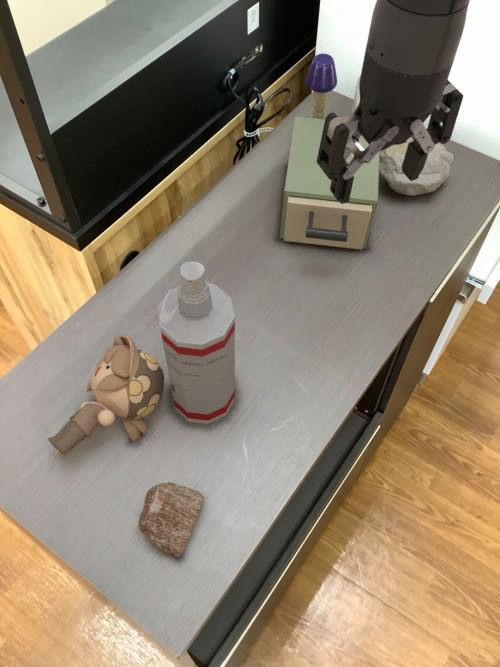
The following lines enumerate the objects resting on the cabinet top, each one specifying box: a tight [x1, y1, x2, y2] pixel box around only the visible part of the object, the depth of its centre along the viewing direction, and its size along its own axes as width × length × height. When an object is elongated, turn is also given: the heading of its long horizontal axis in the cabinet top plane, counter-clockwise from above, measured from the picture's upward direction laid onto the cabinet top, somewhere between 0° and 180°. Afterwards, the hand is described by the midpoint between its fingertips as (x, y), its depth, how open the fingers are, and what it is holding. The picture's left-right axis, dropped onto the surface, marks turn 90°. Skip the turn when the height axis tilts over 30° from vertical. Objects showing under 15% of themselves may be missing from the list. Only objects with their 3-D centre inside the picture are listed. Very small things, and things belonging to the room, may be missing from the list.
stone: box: [138, 481, 205, 557], centre depth 68 cm, size 7×6×5 cm
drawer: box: [283, 196, 372, 251], centre depth 90 cm, size 19×11×8 cm, turn 172°
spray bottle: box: [157, 260, 236, 425], centre depth 67 cm, size 8×8×25 cm
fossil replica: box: [379, 137, 455, 196], centre depth 96 cm, size 12×8×10 cm
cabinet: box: [279, 115, 380, 249], centre depth 92 cm, size 16×13×10 cm
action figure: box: [47, 334, 165, 456], centre depth 72 cm, size 10×11×15 cm
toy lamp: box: [305, 52, 338, 119], centre depth 96 cm, size 5×5×17 cm
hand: (375, 186), depth 67 cm, fingers open, 8 cm apart
